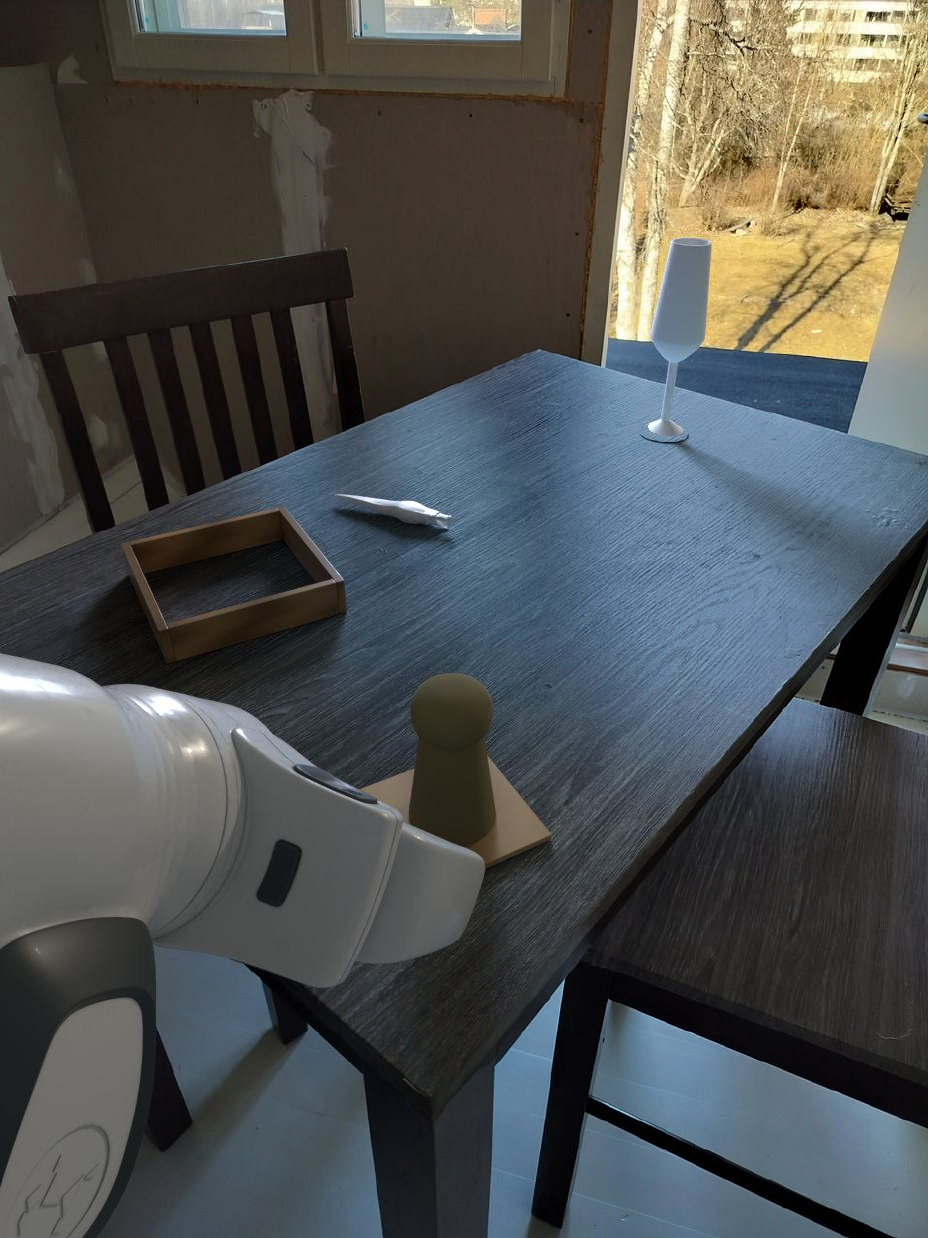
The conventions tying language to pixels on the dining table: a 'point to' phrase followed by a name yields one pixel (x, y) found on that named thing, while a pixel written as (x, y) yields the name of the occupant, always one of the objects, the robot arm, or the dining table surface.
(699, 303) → the champagne flute
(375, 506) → the white animal figurine
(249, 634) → the open box
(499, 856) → the coaster
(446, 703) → the olive game pawn
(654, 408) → the dining table surface
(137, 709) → the robot arm
